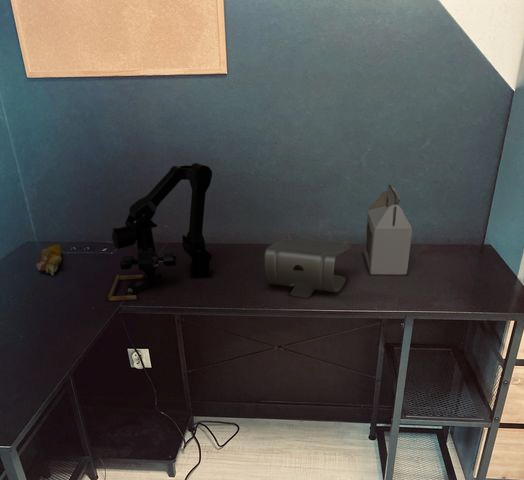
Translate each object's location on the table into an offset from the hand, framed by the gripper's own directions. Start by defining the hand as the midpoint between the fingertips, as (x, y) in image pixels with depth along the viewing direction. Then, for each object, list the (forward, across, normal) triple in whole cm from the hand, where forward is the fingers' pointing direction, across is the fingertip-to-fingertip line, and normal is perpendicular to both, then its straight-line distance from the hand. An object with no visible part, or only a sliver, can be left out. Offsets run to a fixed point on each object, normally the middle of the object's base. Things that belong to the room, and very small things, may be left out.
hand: (152, 283), depth 189 cm
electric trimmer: (+2, -3, 0) cm, 3 cm away
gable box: (+4, +87, +12) cm, 88 cm away
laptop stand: (+3, +55, -4) cm, 55 cm away
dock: (+1, -9, 0) cm, 9 cm away
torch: (0, -41, +26) cm, 49 cm away
